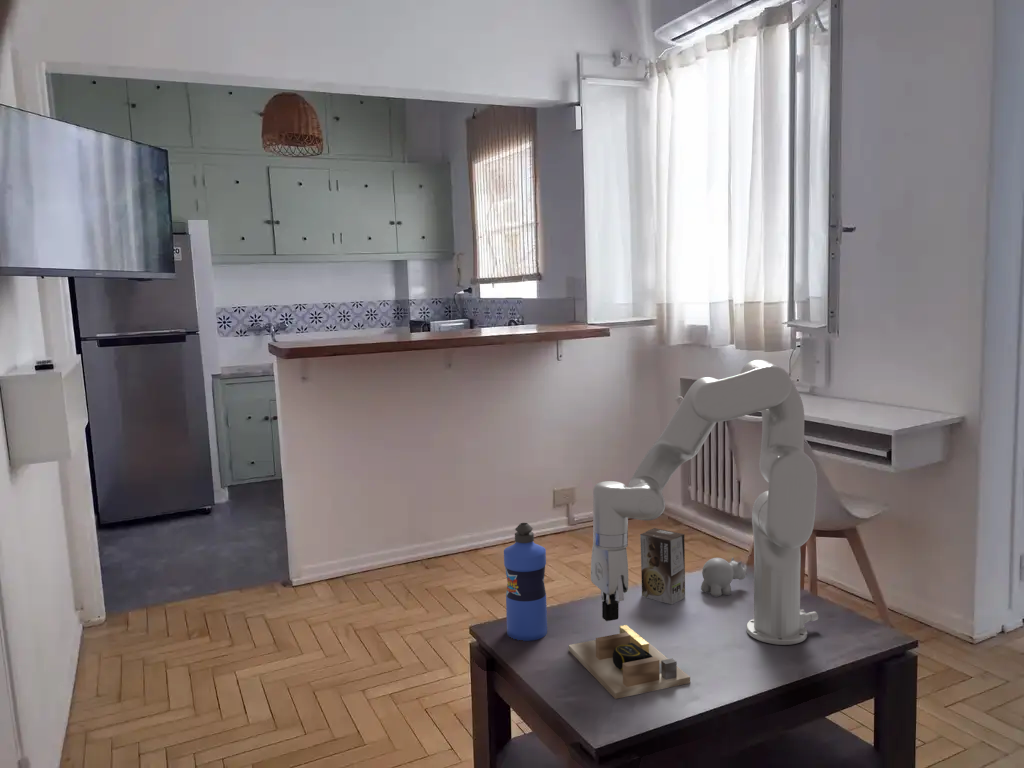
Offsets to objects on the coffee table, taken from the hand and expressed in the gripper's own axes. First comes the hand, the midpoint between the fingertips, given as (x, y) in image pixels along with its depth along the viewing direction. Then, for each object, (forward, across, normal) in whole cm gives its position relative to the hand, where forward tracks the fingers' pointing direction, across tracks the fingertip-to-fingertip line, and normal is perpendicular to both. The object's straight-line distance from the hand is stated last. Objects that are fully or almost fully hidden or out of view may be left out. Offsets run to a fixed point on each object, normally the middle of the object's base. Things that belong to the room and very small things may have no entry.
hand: (610, 618), depth 177 cm
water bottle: (+4, -8, -17) cm, 19 cm away
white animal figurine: (+3, -11, +37) cm, 39 cm away
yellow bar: (+2, +10, 0) cm, 10 cm away
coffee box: (+3, -14, +21) cm, 26 cm away
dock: (+3, +15, -4) cm, 16 cm away
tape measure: (+2, +18, -4) cm, 19 cm away
